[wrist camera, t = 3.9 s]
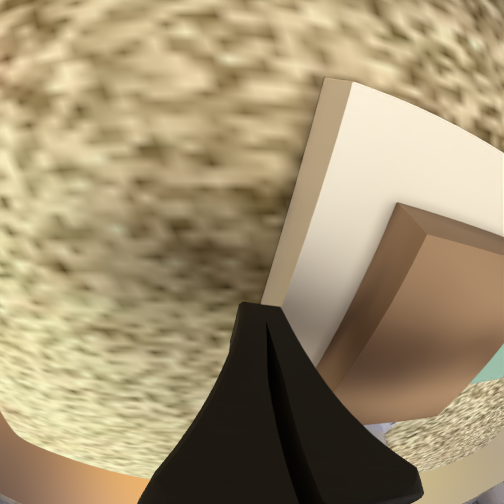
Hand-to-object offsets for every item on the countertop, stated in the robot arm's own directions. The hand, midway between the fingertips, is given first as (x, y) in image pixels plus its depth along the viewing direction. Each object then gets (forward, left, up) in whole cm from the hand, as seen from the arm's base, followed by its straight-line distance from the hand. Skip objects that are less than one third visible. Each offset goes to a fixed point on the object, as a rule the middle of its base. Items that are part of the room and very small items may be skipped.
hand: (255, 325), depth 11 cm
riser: (0, -7, -4) cm, 8 cm away
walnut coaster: (0, -7, -1) cm, 7 cm away
